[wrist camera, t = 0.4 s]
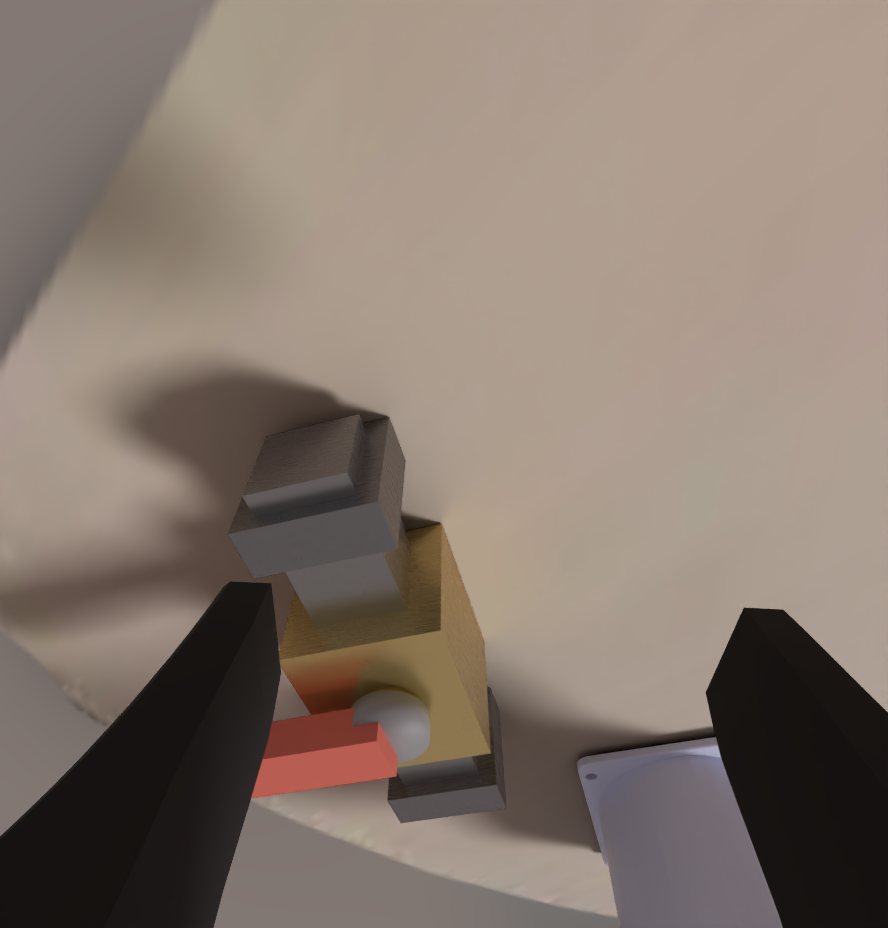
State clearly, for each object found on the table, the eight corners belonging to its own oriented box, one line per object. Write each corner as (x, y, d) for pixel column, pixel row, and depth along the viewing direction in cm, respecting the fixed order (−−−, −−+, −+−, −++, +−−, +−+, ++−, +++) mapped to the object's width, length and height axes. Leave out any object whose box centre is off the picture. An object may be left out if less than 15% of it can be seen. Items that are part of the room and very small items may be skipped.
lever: (417, 684, 19) (415, 731, 18) (439, 732, 21) (439, 779, 20) (101, 738, 21) (80, 785, 20) (141, 780, 22) (123, 826, 21)
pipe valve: (512, 720, 28) (522, 836, 24) (402, 738, 29) (395, 853, 25) (394, 393, 19) (381, 493, 15) (240, 431, 20) (191, 535, 16)
